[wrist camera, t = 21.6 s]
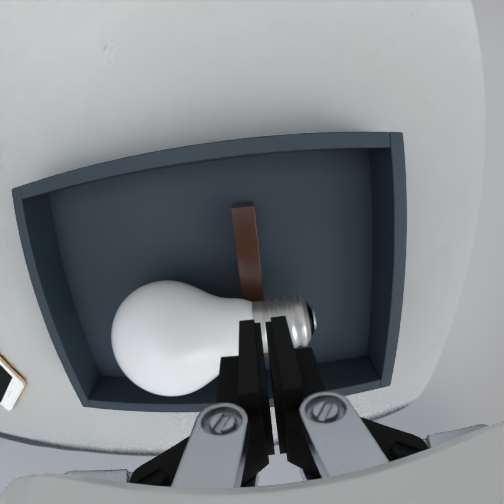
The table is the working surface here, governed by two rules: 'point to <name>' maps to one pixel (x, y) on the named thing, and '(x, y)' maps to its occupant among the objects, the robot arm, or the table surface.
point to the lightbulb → (191, 333)
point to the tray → (224, 249)
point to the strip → (247, 251)
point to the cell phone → (9, 385)
